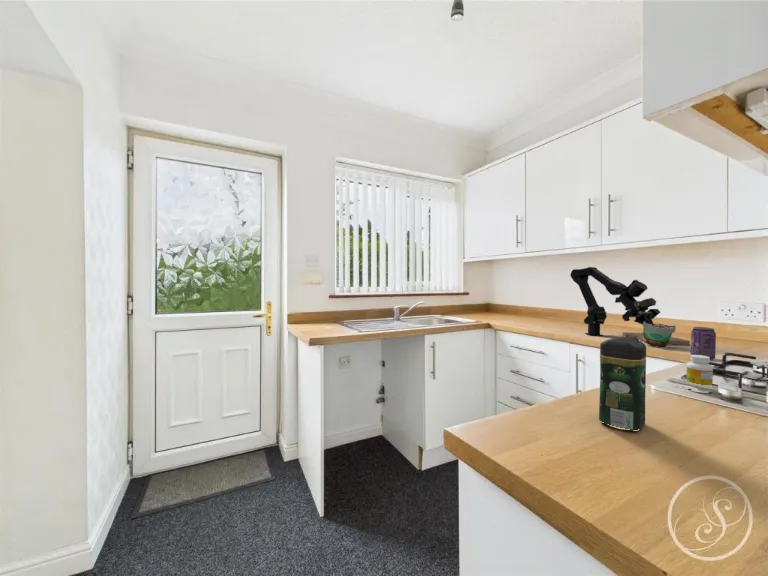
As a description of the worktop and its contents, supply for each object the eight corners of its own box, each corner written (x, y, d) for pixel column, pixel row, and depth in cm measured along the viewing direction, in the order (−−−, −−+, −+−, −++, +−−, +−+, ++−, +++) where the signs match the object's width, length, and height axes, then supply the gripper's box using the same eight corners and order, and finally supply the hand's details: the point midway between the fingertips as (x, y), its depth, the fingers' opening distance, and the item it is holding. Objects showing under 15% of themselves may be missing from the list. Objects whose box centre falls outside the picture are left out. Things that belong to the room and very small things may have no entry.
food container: (640, 345, 159) (645, 326, 155) (638, 339, 164) (642, 320, 160) (674, 350, 153) (679, 331, 149) (671, 343, 158) (676, 324, 154)
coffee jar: (605, 412, 80) (607, 333, 79) (648, 422, 74) (650, 337, 74) (593, 424, 73) (595, 338, 73) (639, 437, 67) (641, 343, 67)
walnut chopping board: (622, 336, 187) (622, 332, 186) (653, 336, 185) (653, 332, 185) (654, 344, 163) (654, 340, 163) (689, 345, 162) (689, 340, 161)
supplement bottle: (681, 387, 99) (682, 353, 98) (702, 388, 98) (703, 354, 97) (694, 393, 93) (696, 358, 93) (717, 394, 92) (718, 358, 92)
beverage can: (697, 355, 139) (698, 326, 139) (719, 359, 133) (720, 328, 132) (686, 357, 137) (687, 327, 136) (708, 361, 130) (709, 329, 130)
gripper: (628, 292, 161) (653, 318, 151) (656, 292, 167) (681, 317, 157) (612, 308, 169) (634, 333, 159) (639, 307, 175) (662, 331, 164)
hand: (654, 328), depth 159 cm, fingers closed
